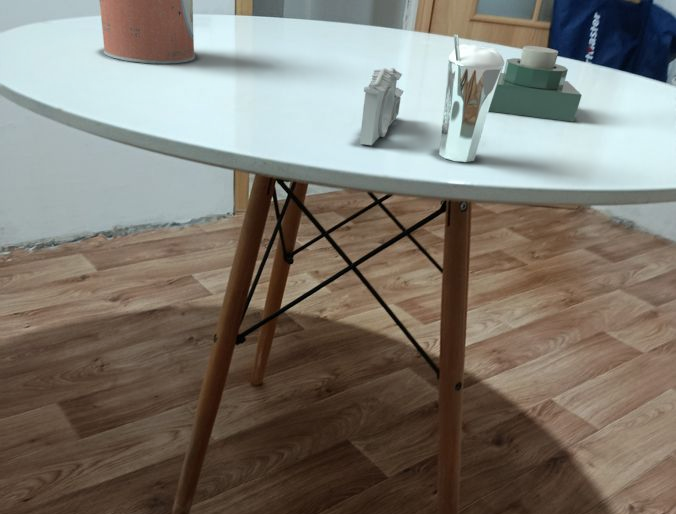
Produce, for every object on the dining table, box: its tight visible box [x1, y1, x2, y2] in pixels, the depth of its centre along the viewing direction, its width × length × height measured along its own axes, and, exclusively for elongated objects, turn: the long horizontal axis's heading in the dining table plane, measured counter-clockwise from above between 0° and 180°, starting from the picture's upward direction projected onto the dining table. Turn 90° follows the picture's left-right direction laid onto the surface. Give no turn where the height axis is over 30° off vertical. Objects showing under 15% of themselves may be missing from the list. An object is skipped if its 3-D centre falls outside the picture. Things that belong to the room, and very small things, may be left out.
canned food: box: [99, 0, 196, 65], centre depth 79 cm, size 11×11×12 cm
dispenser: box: [488, 57, 582, 123], centre depth 76 cm, size 10×8×5 cm
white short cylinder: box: [519, 45, 559, 69], centre depth 74 cm, size 4×4×2 cm
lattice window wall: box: [359, 67, 405, 146], centre depth 60 cm, size 12×2×6 cm, turn 164°
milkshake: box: [439, 34, 505, 163], centre depth 54 cm, size 4×5×10 cm
